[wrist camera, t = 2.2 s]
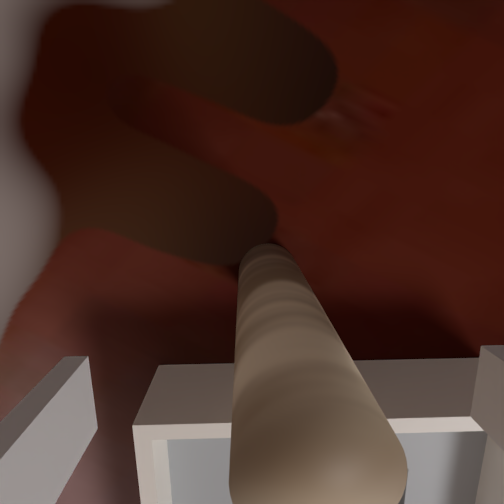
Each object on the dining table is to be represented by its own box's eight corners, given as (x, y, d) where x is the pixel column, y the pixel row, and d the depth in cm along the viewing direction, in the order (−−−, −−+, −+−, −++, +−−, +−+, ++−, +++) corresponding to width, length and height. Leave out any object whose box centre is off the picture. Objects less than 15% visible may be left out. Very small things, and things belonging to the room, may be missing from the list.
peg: (238, 243, 22) (225, 405, 7) (297, 243, 23) (416, 400, 7) (239, 299, 23) (230, 551, 8) (296, 298, 23) (398, 545, 8)
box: (158, 365, 24) (132, 425, 19) (480, 357, 25) (553, 414, 19) (175, 560, 29) (157, 658, 23) (448, 550, 29) (498, 644, 24)
